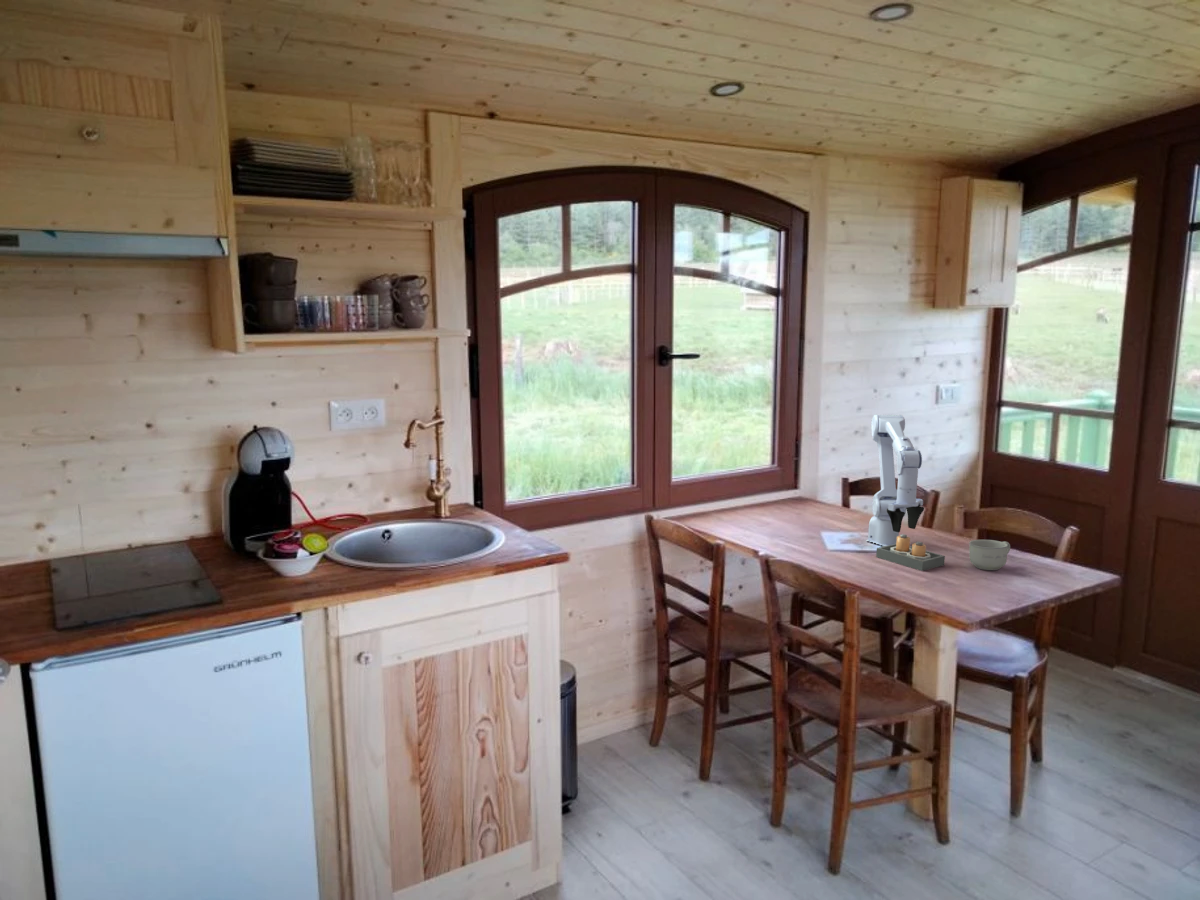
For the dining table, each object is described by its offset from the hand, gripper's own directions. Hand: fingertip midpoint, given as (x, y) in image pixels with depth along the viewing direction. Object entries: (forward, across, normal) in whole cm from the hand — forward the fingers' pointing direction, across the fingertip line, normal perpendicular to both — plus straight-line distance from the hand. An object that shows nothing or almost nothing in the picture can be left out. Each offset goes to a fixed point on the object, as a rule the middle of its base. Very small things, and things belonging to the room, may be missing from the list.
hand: (904, 529), depth 263 cm
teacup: (+10, +16, -20) cm, 28 cm away
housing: (+9, 0, -3) cm, 10 cm away
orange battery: (+8, 0, 0) cm, 8 cm away
